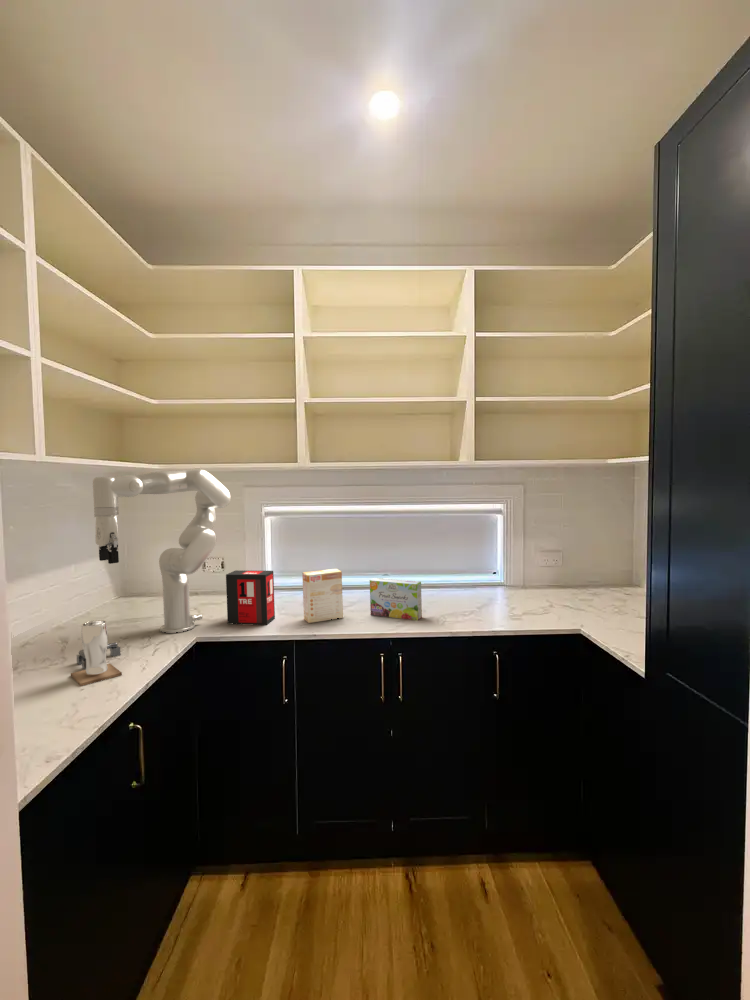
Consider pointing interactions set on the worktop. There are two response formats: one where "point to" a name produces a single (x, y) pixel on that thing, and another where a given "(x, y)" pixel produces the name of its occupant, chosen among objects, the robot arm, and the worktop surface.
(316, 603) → the coffeecake box
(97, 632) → the beer glass
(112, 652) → the grey metal bent rod
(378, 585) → the snack box
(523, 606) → the worktop surface
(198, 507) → the robot arm
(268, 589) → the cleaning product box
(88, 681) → the walnut board
